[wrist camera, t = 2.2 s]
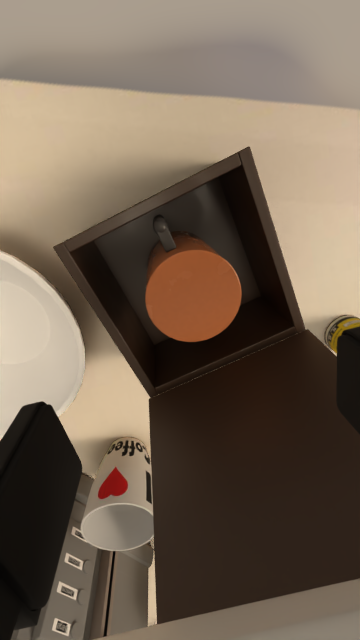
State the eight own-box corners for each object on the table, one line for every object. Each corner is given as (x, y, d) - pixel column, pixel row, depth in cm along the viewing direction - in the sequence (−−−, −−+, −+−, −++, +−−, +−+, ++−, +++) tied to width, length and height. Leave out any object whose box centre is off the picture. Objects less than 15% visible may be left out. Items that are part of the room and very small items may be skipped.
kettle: (125, 228, 27) (109, 246, 17) (186, 197, 26) (207, 197, 16) (175, 323, 31) (186, 383, 21) (229, 298, 31) (266, 348, 21)
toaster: (168, 516, 45) (178, 737, 27) (26, 603, 52) (-45, 831, 33) (81, 456, 39) (15, 694, 20) (-70, 565, 45) (-226, 822, 26)
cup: (164, 435, 39) (168, 509, 29) (146, 476, 41) (145, 555, 32) (106, 423, 37) (90, 497, 28) (91, 466, 40) (73, 546, 30)
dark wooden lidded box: (82, 233, 27) (52, 247, 19) (219, 162, 26) (249, 145, 18) (151, 349, 33) (150, 398, 25) (267, 296, 32) (305, 330, 24)
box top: (158, 679, 11) (210, 700, 14) (542, 551, 10) (517, 602, 12) (148, 398, 25) (175, 436, 27) (307, 328, 23) (319, 375, 26)
